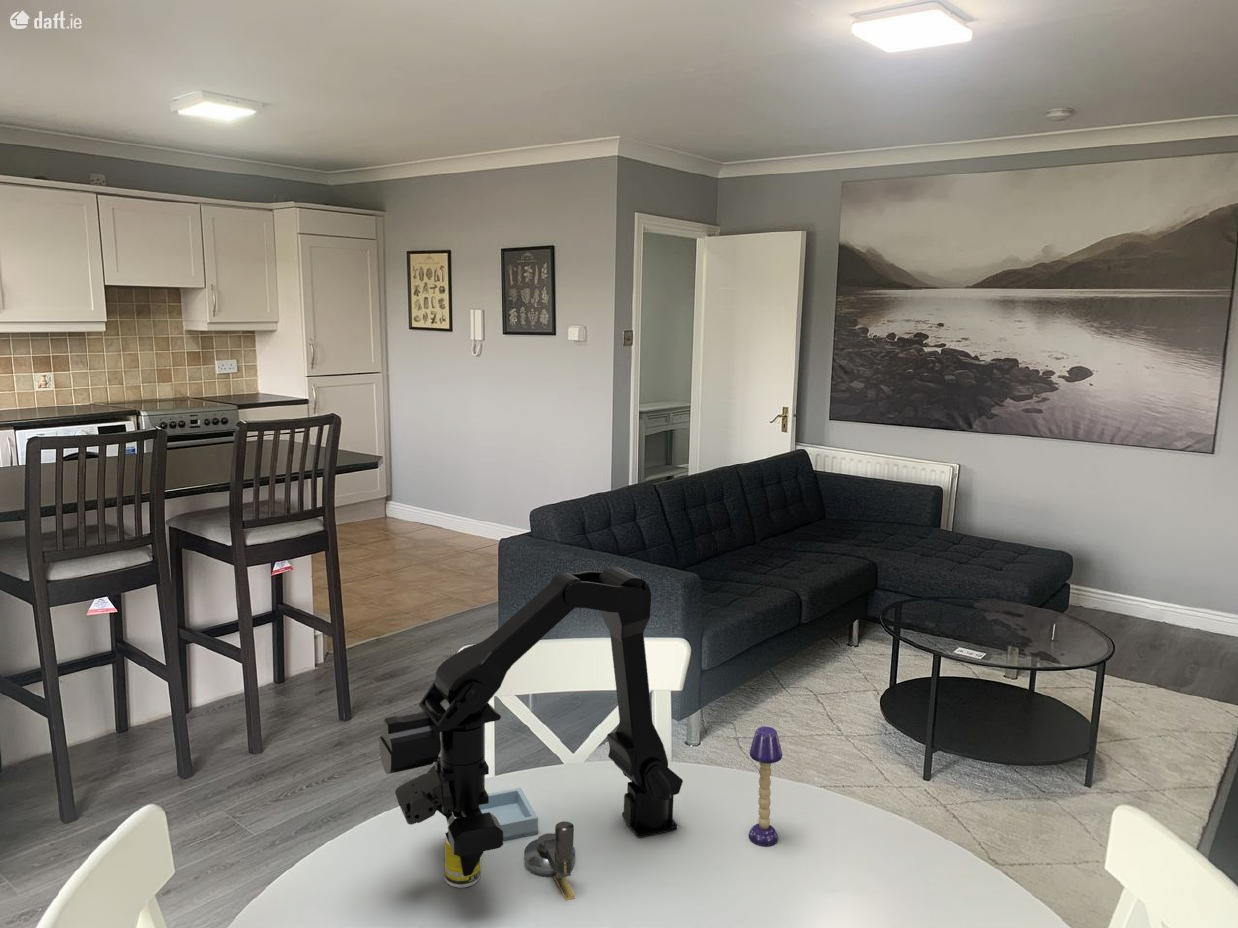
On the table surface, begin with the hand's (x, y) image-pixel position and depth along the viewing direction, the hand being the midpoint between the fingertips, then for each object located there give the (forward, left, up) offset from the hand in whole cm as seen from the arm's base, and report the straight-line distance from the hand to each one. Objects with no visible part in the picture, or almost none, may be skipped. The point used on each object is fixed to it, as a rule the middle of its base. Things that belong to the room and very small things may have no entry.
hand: (462, 863), depth 120 cm
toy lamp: (-43, +5, -2) cm, 43 cm away
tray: (-8, -11, -2) cm, 14 cm away
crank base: (-12, +3, -2) cm, 13 cm away
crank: (-12, +3, 0) cm, 12 cm away
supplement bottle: (0, 0, -2) cm, 2 cm away
